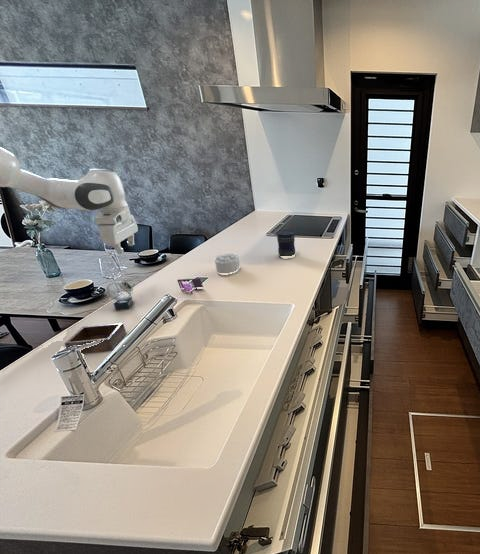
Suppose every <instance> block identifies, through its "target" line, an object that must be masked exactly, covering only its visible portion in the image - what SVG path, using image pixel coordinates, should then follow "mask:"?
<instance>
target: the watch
mask: <svg viewBox="0 0 480 554" xmlns="http://www.w3.org/2000/svg"><path fill="white" fill-rule="evenodd" d="M115 284H116V285H117V286H118V287H119V288H120V289H121V290H122V291H123V292H124V293H127V294H128V295H126V296H117V295H116V294H115V293H114V292H113V291H112V290H111V289H110V286H112V285H115ZM133 290H134V288H133V286H132V285H131V284H130V283H129V281H126V280H121V279H120V280H113V281H111V282H110V283H109V284H107V287H106V288H105V291H106V294H107V295H108V296H109V298H111V299H112V300H114V302H113V306H114V309H115V311H121V310H130V308H131V307H132V305H133V304H134V301H133V298H132V294H133V293H134V291H133Z"/></svg>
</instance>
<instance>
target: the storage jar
mask: <svg viewBox="0 0 480 554" xmlns="http://www.w3.org/2000/svg"><path fill="white" fill-rule="evenodd" d="M276 239H277V245H278V250H277V252H278V256H279V255H280V256H292V255H294V254H295V255H296V247H295V241H296V240H295V231H294V230H290V229H282V230H278V231H277V232H276Z"/></svg>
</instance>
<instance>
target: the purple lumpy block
mask: <svg viewBox="0 0 480 554" xmlns="http://www.w3.org/2000/svg"><path fill="white" fill-rule="evenodd" d="M176 281H177V283H178V285H179V288H180V291H181V292H186V291H190V290H192V289H193V287H194V289H195V287H203V288H204V285H203V283H202V280H201V278H200V277H198V278H182V279H181V278H180V279H179V278H178V279H177V280H176ZM190 281H191V282H192V285H193V287H192V285H191V284H190V283H187V282H190ZM183 282H184V283H183ZM181 288H182V289H181ZM183 288H184V289H183ZM192 291H193V290H192ZM194 291H198V290H197V288H196V289H195V290H194Z"/></svg>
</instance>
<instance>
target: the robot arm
mask: <svg viewBox="0 0 480 554" xmlns="http://www.w3.org/2000/svg"><path fill="white" fill-rule="evenodd" d="M21 167H22V166H21V164H20V161H19V160H18V158H17V157H16V155H15V154H13V153H12V152H10V151H8V150H6V149H5V148H3V147H0V187H1V188H10V189H14V190H16V191H20V192H22V193H26V194H30V195H33V196H35V197H38V198H39V199H40V200H43V201H44V202H45V203H46V204H48V205H50V206H52V207H53V208H57V209H63V210H64V209H66V210H69V209H70V210H79V211H80V210H81V211H97V210H98V212H97V214H96V216H95V217H94V218H93V222H94V224H95V225H97V230H98V234H99V236H100V239H101V241H102V243H103V244H104V245H105V246H112V248H113V249H114V250H115V252H116V254H118V255H122V254H124V252H125V250H124V248H123V247H122V246H121V242H123V241H125V240H126V239H127V241H126V242H127V246H128V247H134V246H135V245H136V244H135V234H136V233H137V232H139V226H138V224H137V221H136V218H135V216H134V215H133V214H132V213H131V210H130V207H129V204H128V202H127V200H126V192H125V189H124V186H123V182H122V180H121V178H120V176H119V174H118V173H117V172H116V171H113V170H111V169H102V168H90V169H89V170H88V171H87V173H86V174H84V176H82V177H81V178H79V179H77V180H74V179H64V178H57V177H51V178H49V177H48V178H47V177H42V176H41V175H37V174H35V173H32V172H29V171H27V170H24V169H21Z"/></svg>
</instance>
